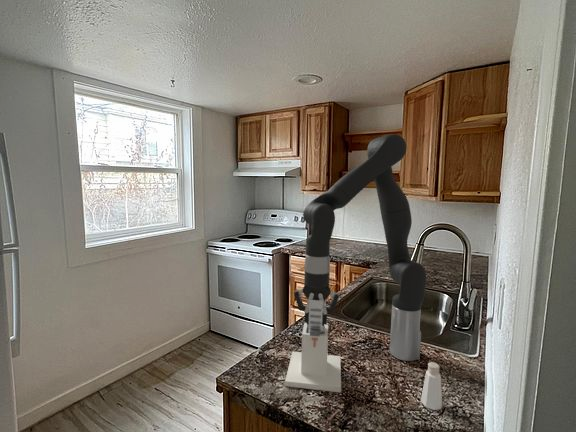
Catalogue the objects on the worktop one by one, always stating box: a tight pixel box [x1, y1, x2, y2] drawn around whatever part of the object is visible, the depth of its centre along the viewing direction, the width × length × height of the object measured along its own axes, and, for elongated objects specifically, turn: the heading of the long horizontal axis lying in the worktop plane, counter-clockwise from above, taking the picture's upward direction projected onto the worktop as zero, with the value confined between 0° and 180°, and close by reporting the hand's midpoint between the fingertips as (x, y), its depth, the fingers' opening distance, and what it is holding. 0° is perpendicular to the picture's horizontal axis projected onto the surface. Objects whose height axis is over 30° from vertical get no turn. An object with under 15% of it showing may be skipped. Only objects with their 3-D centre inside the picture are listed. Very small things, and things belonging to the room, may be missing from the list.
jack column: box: [309, 299, 323, 334], centre depth 93 cm, size 4×4×22 cm
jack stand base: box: [284, 322, 342, 393], centre depth 94 cm, size 16×16×15 cm
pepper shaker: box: [420, 361, 443, 411], centre depth 81 cm, size 5×5×11 cm
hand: (315, 323), depth 93 cm, fingers closed on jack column, 4 cm apart
